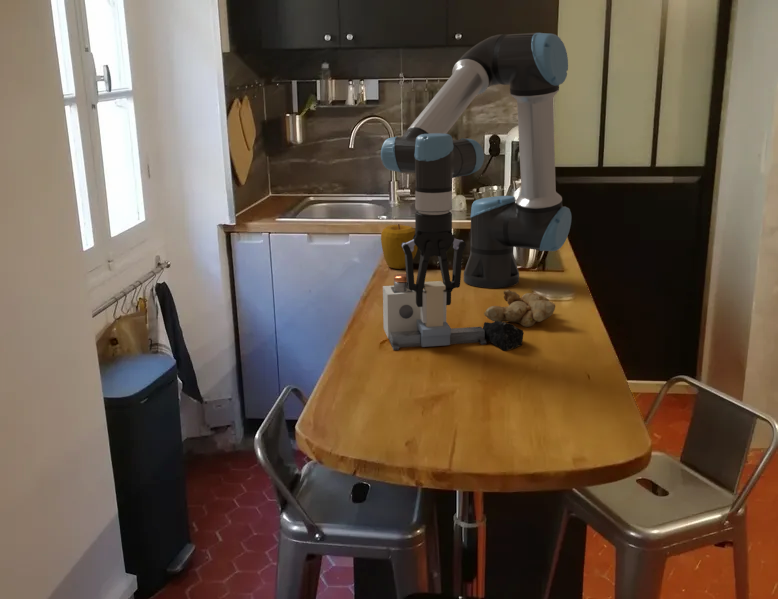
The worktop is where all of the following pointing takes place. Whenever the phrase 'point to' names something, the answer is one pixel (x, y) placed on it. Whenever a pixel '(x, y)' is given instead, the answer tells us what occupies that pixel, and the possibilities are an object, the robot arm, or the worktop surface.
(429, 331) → the carriage
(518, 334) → the rock
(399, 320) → the white square housing
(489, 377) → the worktop surface
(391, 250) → the apple
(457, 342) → the rail
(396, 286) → the copper knob
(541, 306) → the ginger root
